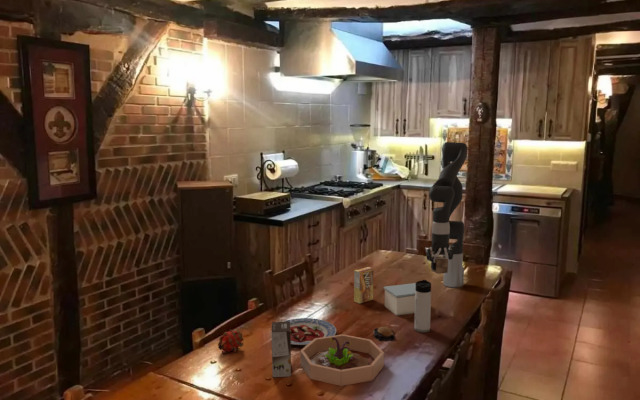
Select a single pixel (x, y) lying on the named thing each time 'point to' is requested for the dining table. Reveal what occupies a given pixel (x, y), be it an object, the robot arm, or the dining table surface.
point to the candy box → (363, 285)
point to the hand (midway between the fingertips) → (439, 269)
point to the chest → (400, 304)
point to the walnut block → (441, 265)
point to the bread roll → (384, 334)
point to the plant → (340, 358)
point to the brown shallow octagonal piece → (347, 374)
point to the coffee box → (281, 349)
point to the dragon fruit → (230, 341)
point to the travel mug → (422, 306)
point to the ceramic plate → (309, 330)
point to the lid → (401, 290)
